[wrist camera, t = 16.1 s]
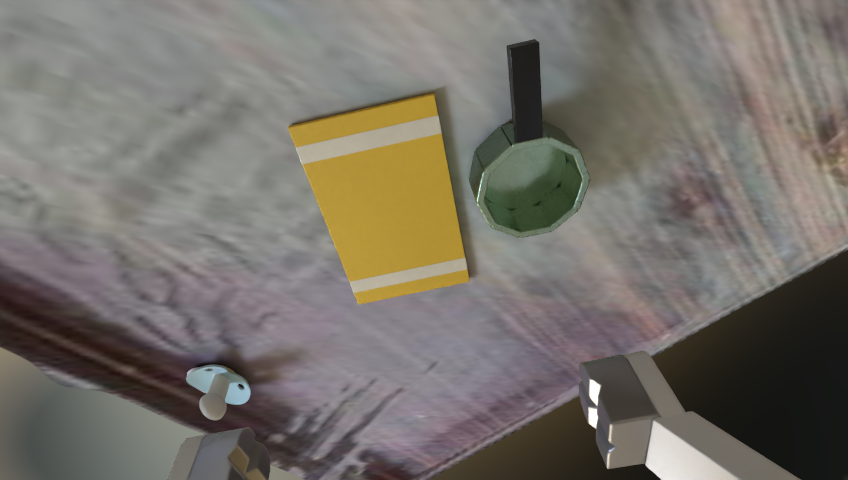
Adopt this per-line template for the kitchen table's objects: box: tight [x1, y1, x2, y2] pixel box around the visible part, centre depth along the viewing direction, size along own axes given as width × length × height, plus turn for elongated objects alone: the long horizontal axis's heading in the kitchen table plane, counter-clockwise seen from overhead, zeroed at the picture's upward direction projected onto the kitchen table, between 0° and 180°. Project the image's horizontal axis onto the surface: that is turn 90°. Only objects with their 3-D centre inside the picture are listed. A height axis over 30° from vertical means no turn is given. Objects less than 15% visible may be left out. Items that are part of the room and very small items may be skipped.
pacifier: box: [186, 364, 251, 420], centre depth 50 cm, size 7×6×6 cm
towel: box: [288, 93, 470, 304], centre depth 42 cm, size 20×12×1 cm, turn 11°
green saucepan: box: [469, 39, 590, 238], centre depth 36 cm, size 16×9×4 cm, turn 11°
